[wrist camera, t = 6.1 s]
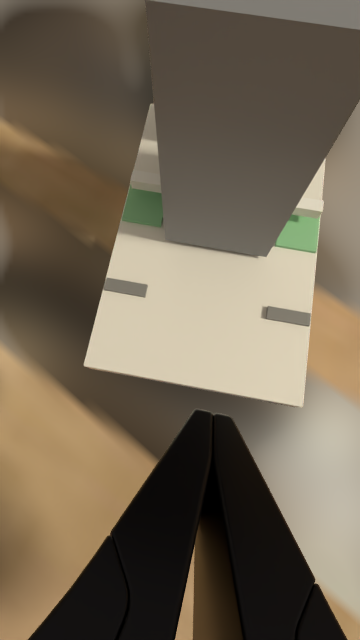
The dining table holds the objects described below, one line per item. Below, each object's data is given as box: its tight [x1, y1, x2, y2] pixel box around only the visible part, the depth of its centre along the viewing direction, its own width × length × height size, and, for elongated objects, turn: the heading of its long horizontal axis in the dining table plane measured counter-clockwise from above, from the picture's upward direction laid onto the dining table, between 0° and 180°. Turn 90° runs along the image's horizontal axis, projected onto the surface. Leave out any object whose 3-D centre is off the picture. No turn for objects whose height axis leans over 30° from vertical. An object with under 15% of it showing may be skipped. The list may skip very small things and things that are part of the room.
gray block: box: [130, 0, 360, 257], centre depth 12 cm, size 5×9×10 cm, turn 79°
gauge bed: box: [84, 104, 326, 407], centre depth 14 cm, size 15×10×7 cm, turn 170°
